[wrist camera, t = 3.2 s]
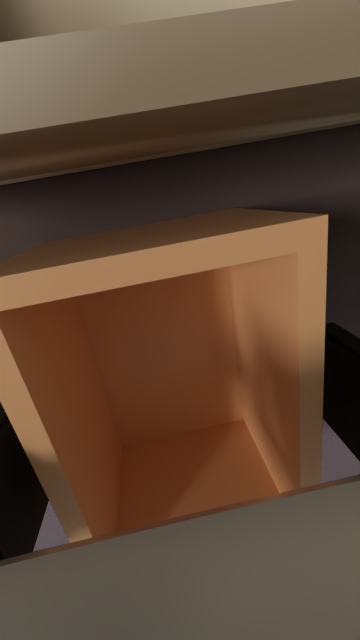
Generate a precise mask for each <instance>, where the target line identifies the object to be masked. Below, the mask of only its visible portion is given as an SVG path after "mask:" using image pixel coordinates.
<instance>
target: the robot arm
mask: <svg viewBox="0 0 360 640" xmlns="http://www.w3.org/2000/svg"><path fill="white" fill-rule="evenodd" d="M323 419H324V420H325V421H326V422H327V424H328V425H329V426H330V427H331V428H332V429H333V431H334V432H335V433H336V434H337V435H338V436H339V438H340V439H341V440H342V441H343V442H344V444H345V445H346V446H347V447H348V448H349V449H350V451H351V452H352V453H353V454H354V455H355V456H356V458H357V459H358V460H359V461H360V339H359V338H358V337H356V336H355V335H353V334H351V333H350V332H348V331H346V330H345V329H343V328H341V327H340V326H338V325H337V324H335V323H328V324H325V353H324V389H323ZM48 501H49V499H48V497H47V495H46V493H45V491H44V489H43V487H42V485H41V483H40V481H39V479H38V477H37V475H36V473H35V471H34V469H33V467H32V465H31V463H30V461H29V458H28V456H27V454H26V452H25V450H24V448H23V446H22V444H21V442H20V440H19V438H18V436H17V434H16V432H15V430H14V428H13V426H12V424H11V422H10V420H9V418H8V416H7V414H6V412H5V410H4V408H3V406H2V404H1V402H0V640H360V475H355V476H351V477H347V478H342V479H338V480H334V481H329V482H325V483H321V484H316V485H312V486H307V487H303V488H299V489H294V490H290V491H286V492H281V493H277V494H273V495H268V496H264V497H260V498H256V499H251V500H247V501H243V502H239V503H234V504H230V505H226V506H222V507H217V508H213V509H209V510H205V511H201V512H196V513H192V514H188V515H184V516H179V517H175V518H171V519H167V520H163V521H158V522H154V523H150V524H146V525H142V526H138V527H133V528H129V529H125V530H121V531H117V532H113V533H109V534H105V535H100V536H96V537H92V538H88V539H84V540H80V541H76V542H72V543H68V544H63V545H59V546H55V547H51V548H47V549H43V550H39V551H35V552H33V549H34V546H35V543H36V540H37V536H38V533H39V530H40V527H41V524H42V520H43V517H44V514H45V511H46V508H47V504H48Z"/></svg>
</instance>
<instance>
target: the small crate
mask: <svg viewBox="0 0 360 640" xmlns="http://www.w3.org/2000/svg"><path fill="white" fill-rule="evenodd" d="M327 244H328V214H314V213H300V212H286V211H272V210H257V209H243V208H231V209H226V210H220V211H215V212H209V213H204V214H198V215H193V216H188V217H182V218H177V219H171V220H166V221H161V222H155V223H150V224H144V225H139V226H134V227H128V228H123V229H117V230H112V231H107V232H101V233H96V234H90V235H85V236H80V237H74V238H69V239H63V240H58V241H53V242H47V243H42V244H40V245H38V246H36V247H34V248H31V249H29V250H27V251H25V252H22V253H20V254H18V255H16V256H13V257H11V258H9V259H7V260H5V261H2V262H0V402H1V404H2V406H3V408H4V410H5V412H6V414H7V416H8V418H9V420H10V422H11V424H12V426H13V428H14V430H15V432H16V434H17V436H18V438H19V440H20V442H21V444H22V446H23V448H24V450H25V452H26V454H27V456H28V458H29V461H30V463H31V465H32V467H33V469H34V471H35V473H36V475H37V477H38V479H39V481H40V483H41V485H42V487H43V489H44V491H45V493H46V495H47V497H48V499H49V501H50V503H51V505H52V507H53V509H54V511H55V513H56V515H57V517H58V519H59V521H60V523H61V525H62V527H63V529H64V531H65V533H66V535H67V537H68V539H69V541H70V543H72V542H76V541H80V540H84V539H88V538H92V537H96V536H100V535H105V534H109V533H113V532H117V531H121V530H125V529H129V528H133V527H138V526H142V525H146V524H150V523H154V522H158V521H163V520H167V519H171V518H175V517H179V516H184V515H188V514H192V513H196V512H201V511H205V510H209V509H213V508H217V507H222V506H226V505H230V504H234V503H239V502H243V501H247V500H251V499H256V498H260V497H264V496H268V495H273V494H277V493H281V492H286V491H290V490H294V489H299V488H303V487H307V486H312V485H316V484H321V461H322V425H323V389H324V353H325V317H326V281H327Z"/></svg>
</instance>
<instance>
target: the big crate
mask: <svg viewBox="0 0 360 640" xmlns="http://www.w3.org/2000/svg"><path fill="white" fill-rule="evenodd" d="M355 124H360V0H0V185H4V184H10V183H16V182H22V181H28V180H34V179H40V178H45V177H51V176H57V175H63V174H69V173H75V172H80V171H86V170H92V169H98V168H104V167H110V166H115V165H121V164H127V163H133V162H139V161H145V160H151V159H156V158H162V157H168V156H174V155H180V154H186V153H191V152H197V151H203V150H209V149H215V148H221V147H227V146H232V145H238V144H244V143H250V142H256V141H262V140H267V139H273V138H279V137H285V136H291V135H297V134H303V133H308V132H314V131H320V130H326V129H332V128H338V127H343V126H349V125H355Z"/></svg>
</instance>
